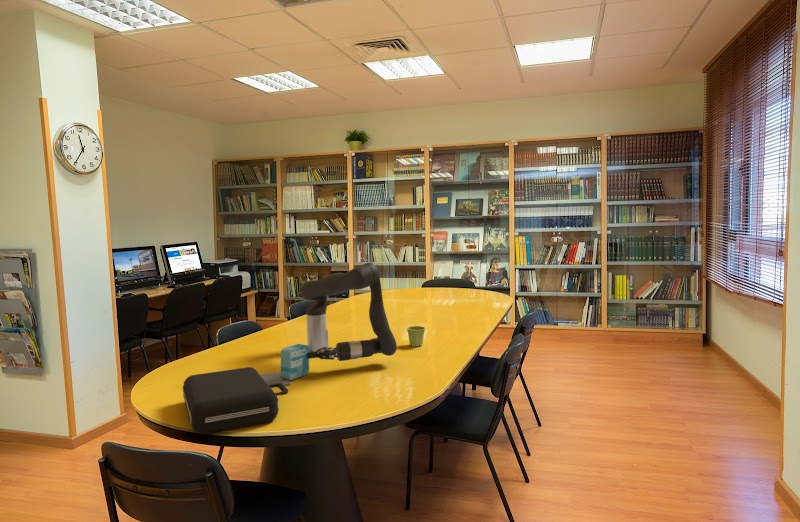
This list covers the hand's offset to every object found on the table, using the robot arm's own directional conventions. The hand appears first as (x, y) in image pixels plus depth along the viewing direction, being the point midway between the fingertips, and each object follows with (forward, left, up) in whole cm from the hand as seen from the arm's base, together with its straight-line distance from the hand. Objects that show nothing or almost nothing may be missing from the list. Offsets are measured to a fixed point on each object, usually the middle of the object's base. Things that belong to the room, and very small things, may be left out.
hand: (307, 355), depth 211 cm
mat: (+16, 0, -8) cm, 18 cm away
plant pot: (-59, -25, -8) cm, 64 cm away
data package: (+5, 0, -8) cm, 9 cm away
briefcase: (+29, +28, -9) cm, 41 cm away
